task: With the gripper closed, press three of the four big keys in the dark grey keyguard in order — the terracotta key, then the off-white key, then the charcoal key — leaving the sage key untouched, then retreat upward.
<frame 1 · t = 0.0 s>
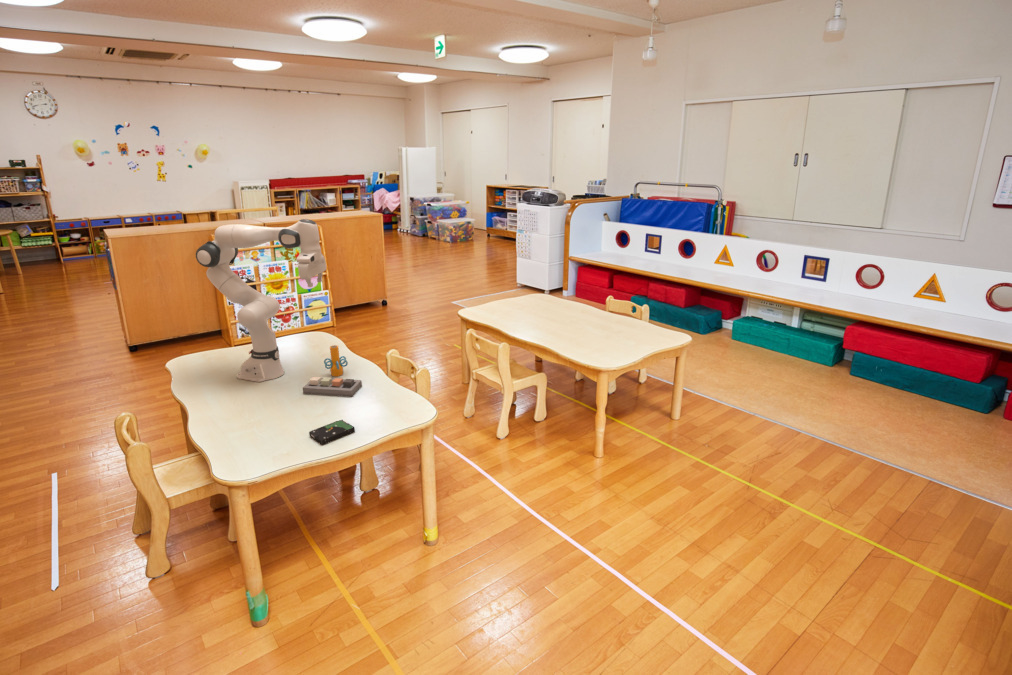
hand: (315, 284, 261), 48 cm above the table, fingers open, 8 cm apart
key terracotta: (337, 382, 262), point 4 cm above the table, slide at 0.0 cm
key charcoal: (348, 382, 261), point 4 cm above the table, slide at 0.0 cm
disk drive: (332, 435, 225), on the table
key sage: (326, 381, 263), point 4 cm above the table, slide at 0.0 cm
orange and blue toy: (337, 374, 281), on the table
keyboard: (333, 390, 264), on the table
key white: (315, 381, 263), point 4 cm above the table, slide at 0.0 cm
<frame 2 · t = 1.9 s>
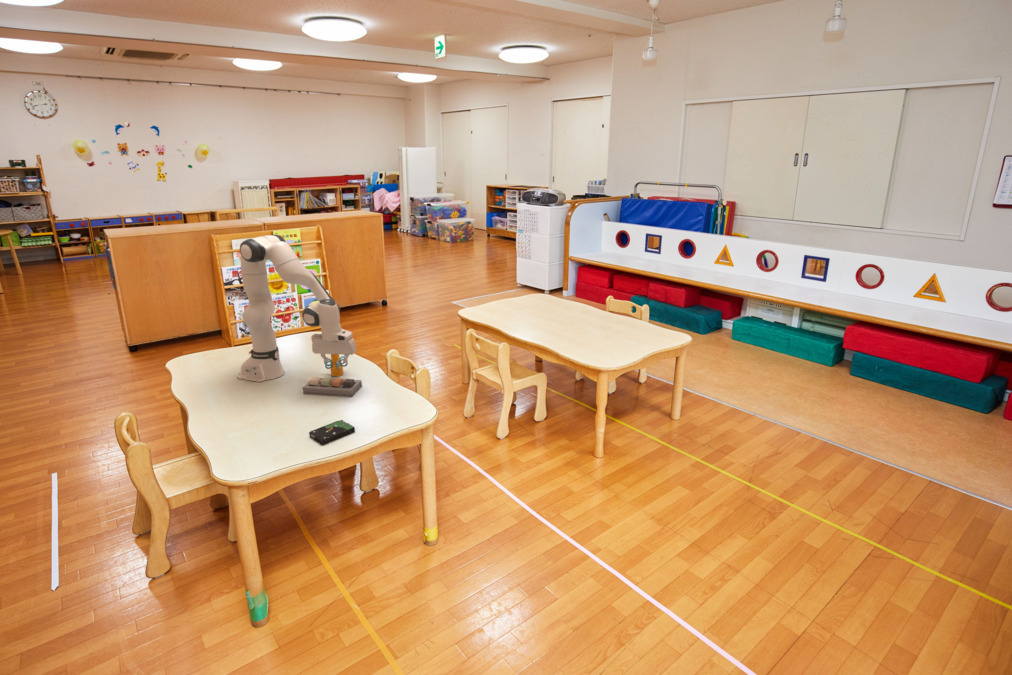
hand: (335, 362, 259), 14 cm above the table, fingers open, 8 cm apart
nothing on the table moved.
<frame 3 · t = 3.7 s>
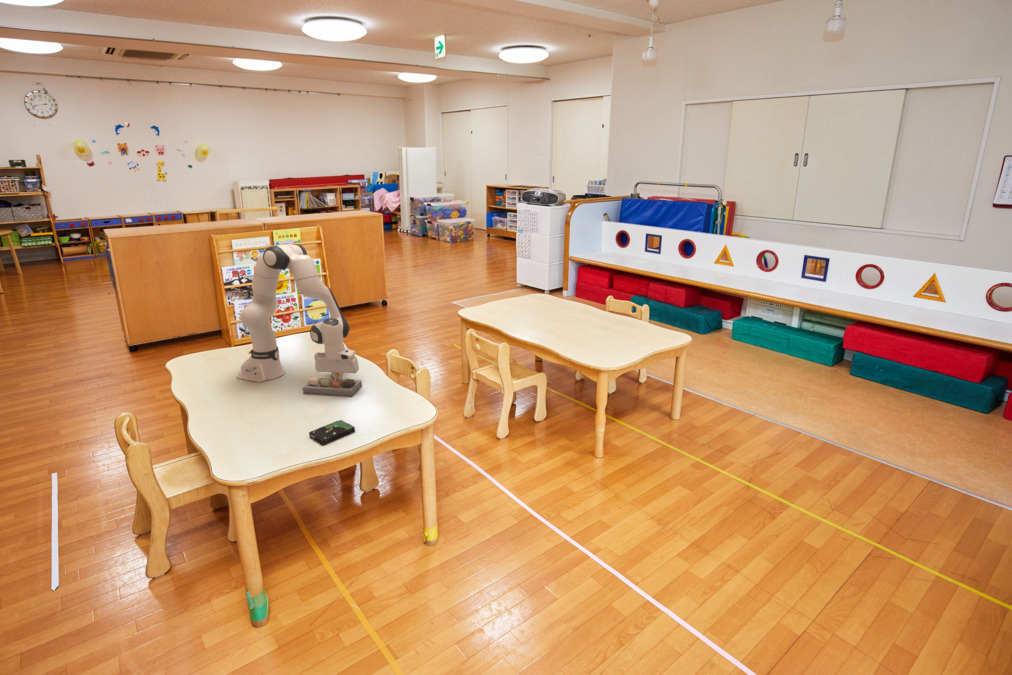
hand: (338, 380, 262), 5 cm above the table, fingers closed
key terracotta: (337, 383, 262), point 4 cm above the table, slide at -0.5 cm, touching gripper
everything else where it was.
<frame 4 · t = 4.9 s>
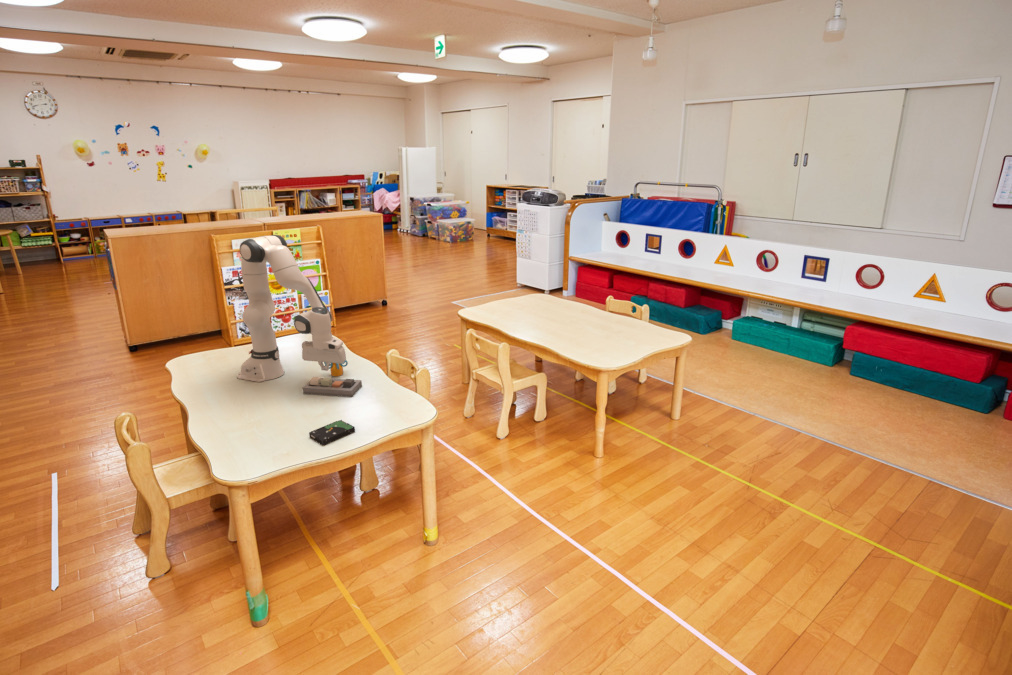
hand: (325, 370, 261), 10 cm above the table, fingers closed
key terracotta: (337, 385, 262), point 3 cm above the table, slide at -1.5 cm
everything else where it was.
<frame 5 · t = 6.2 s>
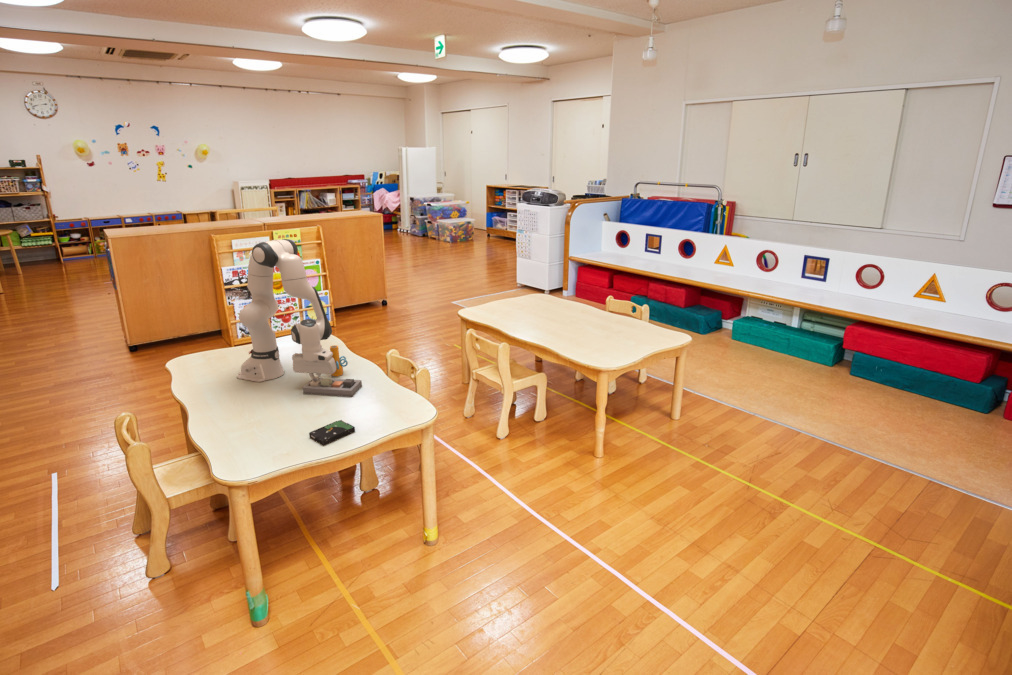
hand: (316, 381, 264), 4 cm above the table, fingers closed, pressing on key white
key white: (316, 383, 264), point 3 cm above the table, slide at -1.4 cm, touching gripper
everything else where it was.
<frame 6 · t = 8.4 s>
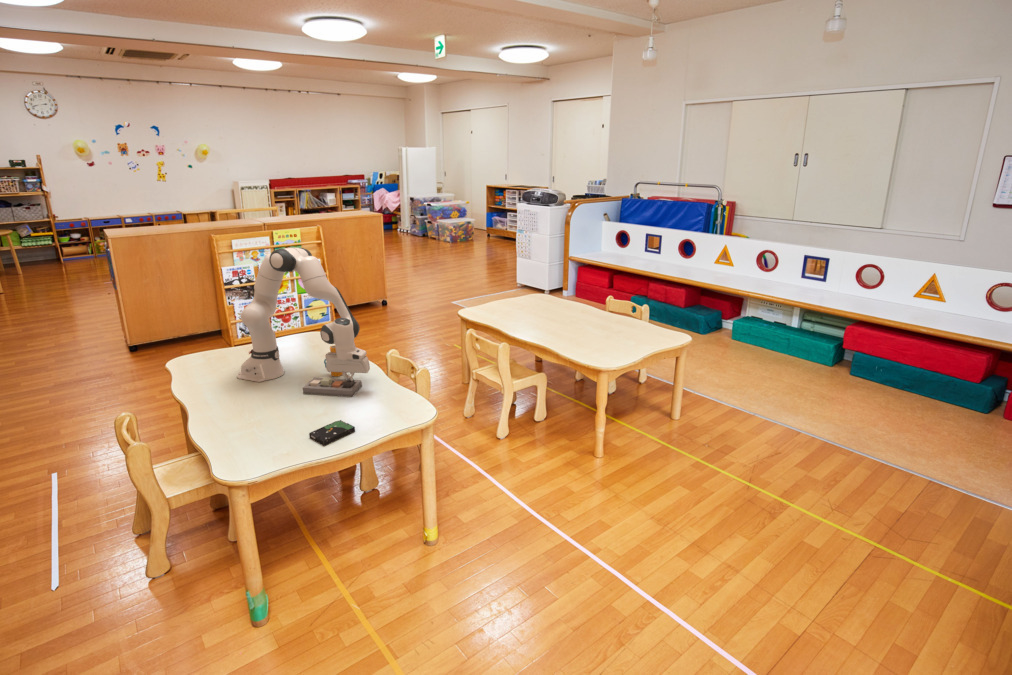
hand: (349, 380, 261), 5 cm above the table, fingers closed, pressing on key charcoal
key charcoal: (348, 383, 261), point 4 cm above the table, slide at 0.0 cm, touching gripper
key white: (316, 383, 264), point 3 cm above the table, slide at -1.5 cm
everything else where it was.
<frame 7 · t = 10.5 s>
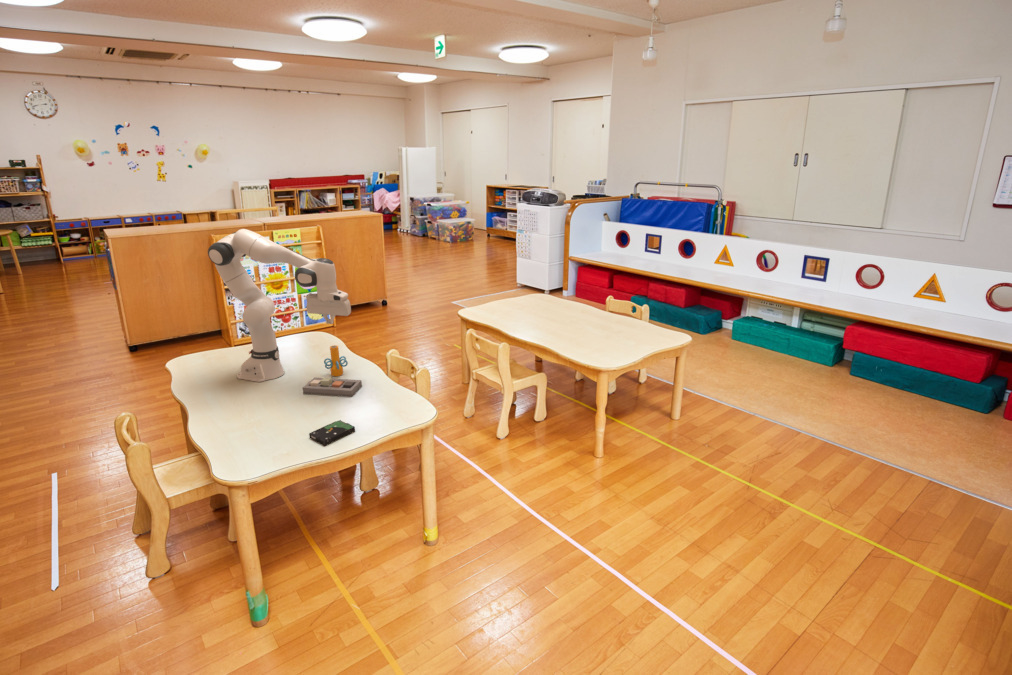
hand: (329, 323, 256), 32 cm above the table, fingers closed
key charcoal: (349, 385, 262), point 3 cm above the table, slide at -1.5 cm
everything else where it was.
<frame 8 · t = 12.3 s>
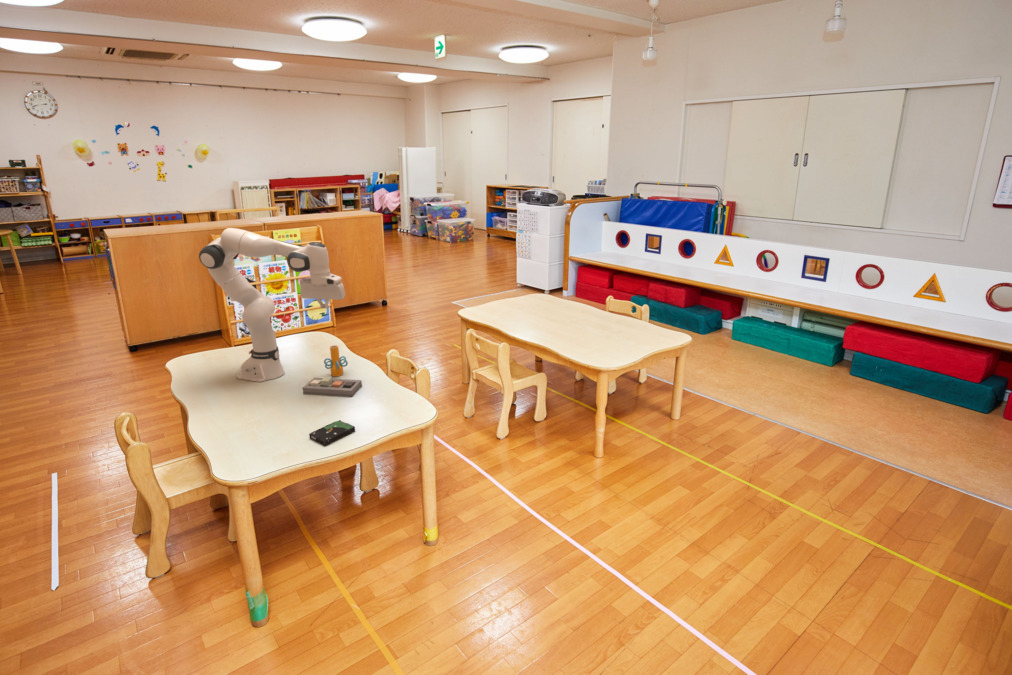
hand: (324, 308, 255), 39 cm above the table, fingers closed
nothing on the table moved.
at the end: key terracotta slide at -1.5 cm; key white slide at -1.5 cm; key charcoal slide at -1.5 cm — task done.
